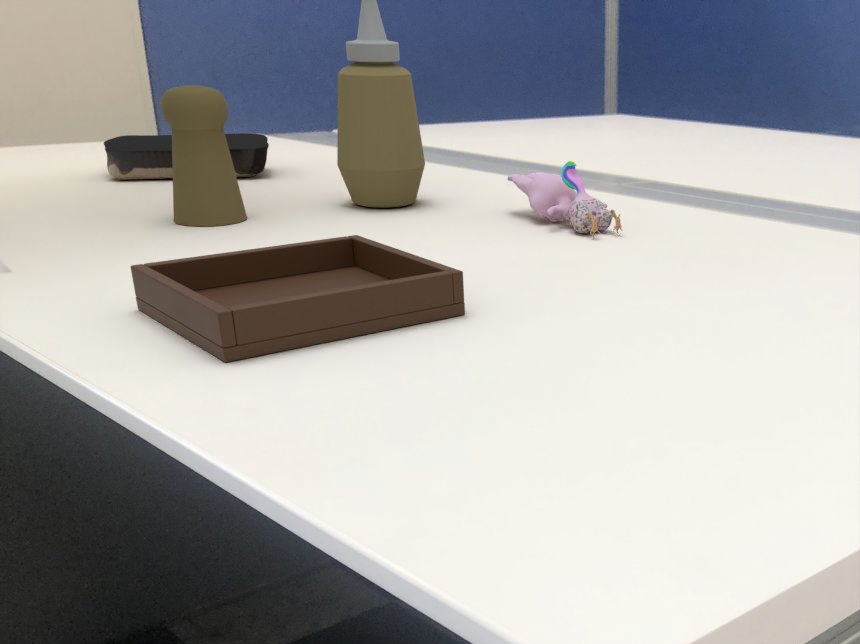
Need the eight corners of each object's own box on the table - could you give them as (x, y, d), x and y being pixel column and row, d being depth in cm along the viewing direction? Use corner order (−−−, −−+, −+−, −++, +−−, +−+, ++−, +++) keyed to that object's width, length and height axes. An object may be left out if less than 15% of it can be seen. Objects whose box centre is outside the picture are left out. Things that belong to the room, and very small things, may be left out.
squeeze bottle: (445, 202, 103) (434, -2, 95) (387, 215, 96) (370, -2, 89) (382, 193, 106) (367, -4, 99) (322, 205, 100) (301, -5, 93)
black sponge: (272, 167, 120) (268, 133, 119) (268, 178, 113) (263, 142, 111) (116, 169, 116) (110, 135, 115) (101, 182, 109) (94, 145, 107)
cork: (158, 223, 91) (136, 87, 86) (201, 210, 96) (182, 82, 92) (221, 228, 90) (201, 90, 85) (260, 215, 95) (244, 85, 90)
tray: (225, 362, 58) (217, 313, 57) (137, 309, 67) (129, 265, 66) (465, 314, 68) (463, 271, 66) (360, 273, 77) (357, 234, 75)
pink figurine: (634, 247, 92) (543, 193, 102) (642, 180, 89) (547, 130, 99) (574, 256, 89) (486, 199, 98) (581, 186, 86) (488, 134, 95)
